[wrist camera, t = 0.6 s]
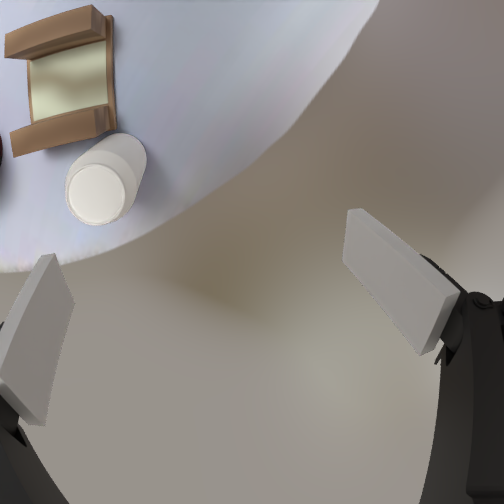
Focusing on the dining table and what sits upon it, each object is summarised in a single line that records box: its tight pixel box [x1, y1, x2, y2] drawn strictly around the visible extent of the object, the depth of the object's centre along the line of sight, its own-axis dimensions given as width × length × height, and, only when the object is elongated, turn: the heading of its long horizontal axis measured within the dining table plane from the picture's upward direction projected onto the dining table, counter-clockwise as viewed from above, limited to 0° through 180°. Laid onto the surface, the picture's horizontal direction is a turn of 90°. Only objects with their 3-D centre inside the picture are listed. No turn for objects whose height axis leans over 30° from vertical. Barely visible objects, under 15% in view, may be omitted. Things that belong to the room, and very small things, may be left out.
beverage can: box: [65, 133, 147, 226], centre depth 25 cm, size 6×6×12 cm
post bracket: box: [5, 5, 117, 158], centre depth 21 cm, size 13×10×7 cm
